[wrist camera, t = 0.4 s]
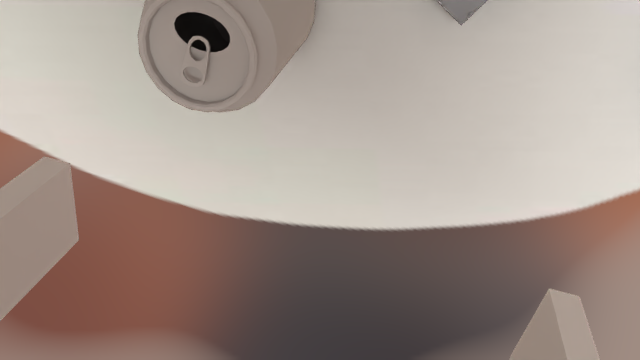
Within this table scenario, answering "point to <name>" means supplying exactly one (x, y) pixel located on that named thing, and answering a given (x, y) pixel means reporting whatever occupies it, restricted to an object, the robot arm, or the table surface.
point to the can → (220, 47)
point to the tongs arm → (461, 8)
